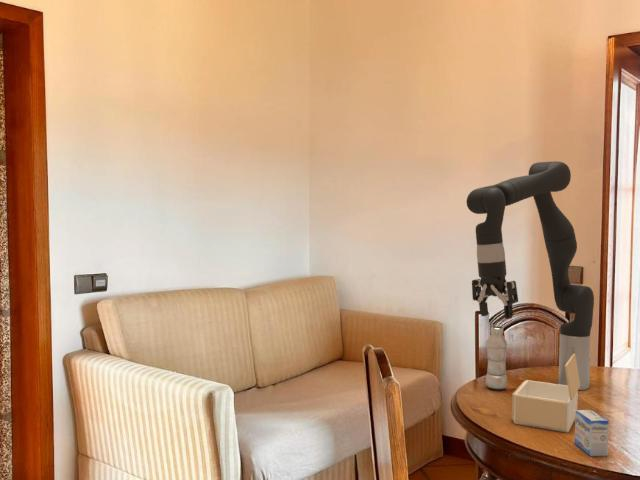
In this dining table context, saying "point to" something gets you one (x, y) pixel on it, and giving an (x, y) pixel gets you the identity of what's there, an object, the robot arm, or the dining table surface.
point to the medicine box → (591, 433)
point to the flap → (572, 376)
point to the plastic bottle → (496, 359)
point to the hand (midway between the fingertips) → (496, 317)
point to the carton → (544, 406)
